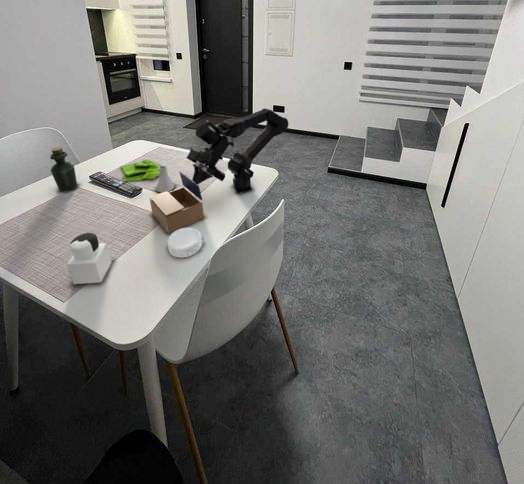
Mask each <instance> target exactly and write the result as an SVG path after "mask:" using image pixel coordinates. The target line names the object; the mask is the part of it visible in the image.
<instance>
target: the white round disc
mask: <svg viewBox="0 0 524 484" xmlns="http://www.w3.org/2000/svg"><path fill="white" fill-rule="evenodd" d="M202 244H203V240H202V233H201V232H200V231H199V230H198V229H197V228H194V227H183V228H181V229H179V230H176V231H174V232H172V233H170V234H169V236H168V238H167V248H168V252H169V254H170V255H172V256H173V257H175V258H182V259H183V258H188V257H191V256H193V255H195V254H196V253H198V251H199V250H200V249H201V247H202Z"/></svg>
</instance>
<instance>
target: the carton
mask: <svg viewBox="0 0 524 484" xmlns="http://www.w3.org/2000/svg"><path fill="white" fill-rule="evenodd" d="M149 203H150V209H151V215H152V216H153V217H154V218H155V219H156V220H157V222H158V223H159V224H160V226H162V228H163V229H164V231H166V232H167V234H168V235H171V234H172V233H173V232H175V231H176V230H179V229H181V228H186V227H187V226H189V225H191V224H193V223H196V222H198V221H200V220H202V219H204V217H205V215H204V205H203V202H202V201H201V200H200V199H199V198H198V197H196V196H195V195H194V194H193V193H192V192H191V191H189V190H188V189H187V188H186V187H185V186H182V187H181V186H180V187H179V188H175V189H172V190H171V191H169V192H168V191H165V192H159V193H157V194H154V195H152V196H150V197H149Z"/></svg>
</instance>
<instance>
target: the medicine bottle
mask: <svg viewBox="0 0 524 484" xmlns="http://www.w3.org/2000/svg"><path fill="white" fill-rule="evenodd" d="M69 246H70V247H69V248H70V250H71V253H72V256H71V258H70V259H69V260H68V261H67V263H66V266H67V269H68V272H69V275H70V279H71V282H72V284H73V285H82V284H83V285H84V284H97V283H98V284H99V283H102V282H103V280H104V278H105V276H106V274H107V272H108V270H109V269H110V266H111V265H112V259H111V254H110V251H109V248H108V244H107V243H100V242H99V239H98V235H97V234H96V233H93V232H84V233H81V234H79V235H77V236H75V237H74V238H73V239H72V240H71V241H70V244H69Z"/></svg>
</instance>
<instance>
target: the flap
mask: <svg viewBox="0 0 524 484" xmlns="http://www.w3.org/2000/svg"><path fill="white" fill-rule="evenodd" d="M179 177H180V180H181V182H182V185H183V186H182V187H185V188H186V189H187V190H188V191H189V192H191V193H192V194H193V195H194V196H195V197H197V198H198V199H199V200H200V201H201V202H202V201H203V197H202V196H203V195H202V192H201V188H200V184H196V183H195V182H194V181H193V180H192V179H191V178H190V177H189V176H187V174H185V173H184V172H182V171H181V170H179Z"/></svg>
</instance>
